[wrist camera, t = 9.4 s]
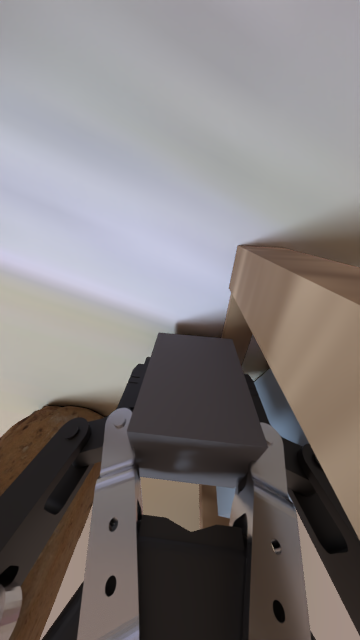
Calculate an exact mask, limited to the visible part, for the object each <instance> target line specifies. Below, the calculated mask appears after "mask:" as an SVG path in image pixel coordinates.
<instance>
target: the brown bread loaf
mask: <svg viewBox="0 0 360 640" xmlns="http://www.w3.org/2000/svg"><path fill="white" fill-rule="evenodd" d="M77 417H82V418H85V419H86V420H87V422H89V421H93V420H98V419H102V418H104V417H103V416H101V415H99V414H98V413H95V412H94V411H92V410H90V409H86V408H81V407H74V406H65V407H59V406H46V407H44V408H42V409H41V410H37V411H35V412H33V413H32V414H31V415H30V416H28V417H26V418H24V419H23V420H21V421H19V422H18V423H16V424H15V425H14V426H12V427H11V428H10V429H9V430H8V431H7V432H6V433H5V434H4V435H3V436H2V437H1V438H0V496H1V495H2V494H3V493H4V492H5V491H6V489H7V488H8V487H9V486H10V485H11V484H12V483H13V481H14V480H15V479H16V478H17V477H18V476H19V475H20V473H21V472H22V471H23V470H24V469H25V468H26V467H27V466H28V464H29V463H30V462H31V461H32V460H33V459H34V458H35V456H36V455H37V454H38V453H39V452H40V451H41V450H42V449H43V447H44V446H45V445H46V444H47V443H48V442H49V441H50V439H51V438H52V437H53V436H54V435H55V434H56V433H57V432H58V430H59V429H60V428H61V427H62V426H63V425H64V424H65V423H66V422H68V421H69V420H71V419H74V418H77ZM101 462H102V461H101ZM101 462H98V463H95V464H94V466H93V467H92V469H91V471H90V472H89V474H88V476H87V477H86V479H85V481H84V482H83V484H82V486H81V487H80V489H79V491H78V492H77V494H76V496H75V497H74V499H73V501H72V502H71V504H70V506H69V507H68V509H67V511H66V512H65V514H64V516H63V517H62V519H61V520H60V522H59V524H58V525H57V527H56V529H55V530H54V532H53V534H52V535H51V537H50V539H49V540H48V542H47V544H46V545H45V547H44V549H43V550H42V552H41V554H40V555H39V557H38V559H37V560H36V562H35V564H34V565H33V567H32V569H31V570H30V572H29V573H28V575H27V577H26V578H25V580H24V582H23V583H22V585H21V590H22V604H21V609H20V613H19V617H18V620H17V622H16V625H15V627H14V630H13V632H12V634H11V636H10V638H9V640H40V637H41V634H42V632H43V629H44V627H45V624H46V622H47V619H48V617H49V615H50V612H51V609H52V607H53V604H54V602H55V599H56V596H57V594H58V591H59V588H60V586H61V583H62V581H63V578H64V575H65V573H66V570H67V567H68V565H69V562H70V560H71V557H72V555H73V552H74V549H75V547H76V544H77V542H78V539H79V538H80V536H81V533H82V531H83V528H84V526H85V523H86V520H87V518H88V515H89V512H90V509H91V506H92V504H93V500H94V491H95V486H96V481H97V479H98V477H99V475H100V471H101Z"/></svg>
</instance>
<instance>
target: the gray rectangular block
mask: <svg viewBox="0 0 360 640" xmlns="http://www.w3.org/2000/svg"><path fill="white" fill-rule="evenodd" d="M127 435H128V439H129V443H130V446H132V447H135V450H136V464H138V465H139V467H140V477H146V478H154V479H163V480H172V481H179V482H187V483H195V484H203V485H211V486H219V487H227V488H235V487H236V480H237V478H238V477H244V476H245V475H246V474H247V473H248V464H249V463H250V462H251V460H252V461H257V460H258V459H259V458H260V457H261V456H262V454H263V453H264V452H265V451H266V450H267V448H268V445H267V442H266V439H265V436H264V433H263V430H262V427H261V424H260V421H259V418H258V415H257V412H256V409H255V406H254V403H253V400H252V397H251V394H250V391H249V388H248V385H247V382H246V379H245V376H244V373H243V370H242V367H241V364H240V361H239V358H238V355H237V352H236V349H235V346H234V343H233V340H232V339H224V338H213V337H201V336H190V335H179V334H167V333H158V336H157V339H156V342H155V345H154V349H153V352H152V355H151V358H150V361H149V364H148V367H147V370H146V373H145V376H144V379H143V382H142V385H141V388H140V392H139V395H138V398H137V401H136V404H135V407H134V410H133V413H132V416H131V419H130V422H129V425H128V428H127Z"/></svg>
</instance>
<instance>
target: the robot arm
mask: <svg viewBox="0 0 360 640" xmlns="http://www.w3.org/2000/svg"><path fill="white" fill-rule="evenodd" d="M150 358H151V357H147V358H146V361H145V363H144V364H138V365H137V366H136V367H135V368H134V369H133V371H132V374H131V377H130V379H129V381H128V383H127V386H126V388H125V391H124V393H123V395H122V398H121V400H120V403H119V405H118V407H117V408H116V410H115V411H113V412H112V413H111V414H110V415H109V416H107V417H105V418H102V419H98V420H93V421H89V422H87V420H86V419H85V418H82V417H77V418H74V419H71V420H69V421H68V422H66V423H65V424H64V425H63V426H62V427H61V428H60V429H59V430H58V432H57V433H56V434H55V435H54V436H53V437H52V438H51V439H50V441H49V442H48V443H47V444H46V445H45V446H44V447H43V449H42V450H41V451H40V452H39V453H38V454H37V455H36V456H35V458H34V459H33V460H32V461H31V462H30V463H29V464H28V466H27V467H26V468H25V469H24V470H23V471H22V472H21V473H20V475H19V476H18V477H17V478H16V479H15V480H14V481H13V483H12V484H11V485H10V486H9V487H8V488H7V489H6V491H5V492H4V493H3V494H2V495H1V496H0V640H9V638H10V636H11V634H12V632H13V630H14V627H15V625H16V622H17V620H18V617H19V613H20V609H21V604H22V590H21V585H22V583H23V582H24V580H25V578H26V577H27V575H28V573H29V572H30V570H31V569H32V567H33V565H34V564H35V562H36V560H37V559H38V557H39V555H40V554H41V552H42V550H43V549H44V547H45V545H46V544H47V542H48V540H49V539H50V537H51V535H52V534H53V532H54V530H55V529H56V527H57V525H58V524H59V522H60V520H61V519H62V517H63V516H64V514H65V512H66V511H67V509H68V507H69V506H70V504H71V502H72V501H73V499H74V497H75V496H76V494H77V492H78V491H79V489H80V487H81V486H82V484H83V482H84V481H85V479H86V477H87V476H88V474H89V472H90V471H91V469H92V467H93V466H94V464H95V463H98V462H101V461H102V462H101V471H100V475H99V477H98V479H97V481H96V486H95V491H94V500H93V509H92V517H91V525H90V534H89V542H88V551H87V560H86V568H85V576H84V581H83V583H82V584H81V585H80V587H79V588H78V590H77V591H76V592H75V594H74V595H73V597H72V598H71V600H70V601H69V602H68V604H67V605H66V607H65V608H64V609H63V611H62V612H61V614H60V615H59V616H58V618H57V619H56V621H55V622H54V623H53V625H52V626H51V628H50V629H49V630H48V632H47V634H46V635H45V636H44V637H43V639H42V640H316V639H315V637H314V636H313V634H312V633H311V631H310V625H309V616H308V607H307V598H306V590H305V581H304V572H303V564H302V555H301V546H300V538H299V529H298V521H297V514H296V510H297V512H298V514H299V516H300V518H301V520H302V522H303V524H304V526H305V528H306V530H307V532H308V534H309V536H310V538H311V540H312V542H313V544H314V546H315V548H316V550H317V552H318V554H319V556H320V558H321V560H322V562H323V564H324V566H325V568H326V570H327V572H328V574H329V576H330V578H331V580H332V582H333V584H334V586H335V588H336V590H337V592H338V594H339V595H340V598H341V600H342V602H343V604H344V605H345V608H346V610H347V611H348V613H349V615H350V617H351V619H352V621H353V623H354V625H355V627H356V629H357V631H358V633H359V635H360V540H359V538H358V536H357V534H356V532H355V530H354V528H353V526H352V524H351V522H350V521H349V519H348V517H347V515H346V513H345V511H344V509H343V507H342V505H341V503H340V501H339V499H338V497H337V495H336V494H335V492H334V490H333V488H332V486H331V484H330V482H329V480H328V478H327V476H326V474H325V472H324V470H323V469H322V467H321V465H320V463H319V461H318V459H317V457H316V455H315V453H314V451H313V449H312V447H311V445H310V443H309V444H305V445H304V446H300V445H298V444H296V443H294V442H291V441H289V440H287V439H285V438H283V437H282V436H280V435H279V433H278V432H277V431H276V430H275V429H274V428H273V427H272V426H271V425H270V423H269V420H268V418H267V415H266V413H265V410H264V407H263V405H262V402H261V399H260V397H259V394H258V391H257V390H256V386H255V384H254V381H253V380H252V379H251V377H250V376H249V375H248V374H244V376H245V379H246V382H247V385H248V388H249V391H250V394H251V397H252V400H253V403H254V406H255V409H256V412H257V415H258V418H259V421H260V424H261V427H262V430H263V433H264V436H265V439H266V442H267V445H268V448H267V450H266V451H265V452H264V453H263V454H262V456H261V457H260V458H259V459H258V460H257V461H252V460H251V462H250V463H249V464H248V473H247V474H246V475H245V476H244V477H238V478H237V480H236V489H235V495H234V499H233V502H232V507H231V514H230V522H229V526H224V525H217V524H216V525H213V526H210V527H207V528H204V529H200V530H197V531H194V532H190V531H188V530H186V529H184V528H182V527H181V526H179V525H177V524H176V523H174V522H172V521H171V520H169V519H167V518H164V517H156V516H149V515H143V506H142V492H141V482H140V467H139V465H138V464H136V450H135V447H132V446H130V443H129V439H128V435H127V428H128V425H129V422H130V419H131V416H132V413H133V410H134V407H135V404H136V401H137V398H138V395H139V392H140V388H141V385H142V382H143V379H144V376H145V373H146V370H147V367H148V364H149V361H150ZM288 494H289V496H290V498H291V500H292V502H293V503H292V502H291V501H290V499H289V497H288ZM293 504H294V505H293ZM294 506H295V507H294ZM295 508H296V510H295ZM271 543H272V545H273V547H274V550H275V552H274V551H273V549H272V546H271Z"/></svg>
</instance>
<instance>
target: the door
mask: <svg viewBox="0 0 360 640" xmlns="http://www.w3.org/2000/svg"><path fill="white" fill-rule="evenodd" d="M254 384H255V386H256V390H257V391H258V394H259V397H260V399H261V402H262V405H263V407H264V410H265V413H266V415H267V418H268V420H269V423H270V425H271V426H272V427H273V428H274V429H275V430H276V431H277V432H278V433H279V435H280V436H282V437H283V438H285V439H287V440H289V441H291V442H294V443H296V444H298V445H300V446H304V445H305V444H309V442H308V440H307V438H306V436H305V434H304V432H303V430H302V428H301V426H300V424H299V422H298V420H297V418H296V416H295V415H294V413H293V411H292V409H291V407H290V405H289V403H288V401H287V399H286V397H285V395H284V393H283V391H282V389H281V388H280V386H279V384H278V382H277V380H276V378H275V376H274V374H273V372H272V370H271V368H270V369H269V370H267V371H266V372H265V373H264V374H263V375H262V376H261V377H259V378H258V379H257V380H256V381H255V382H254ZM235 489H236V487H235V488H227V487H219V486H216V491H217V505H218V516H222V517H226V518H230V514H231V507H232V502H233V499H234V495H235ZM288 497H289V499H290V501H291V502H292V500H291V498H290V496H289V494H288ZM292 503H293V502H292ZM293 505H294V504H293ZM294 507H295V506H294ZM295 509H296V508H295Z"/></svg>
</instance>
